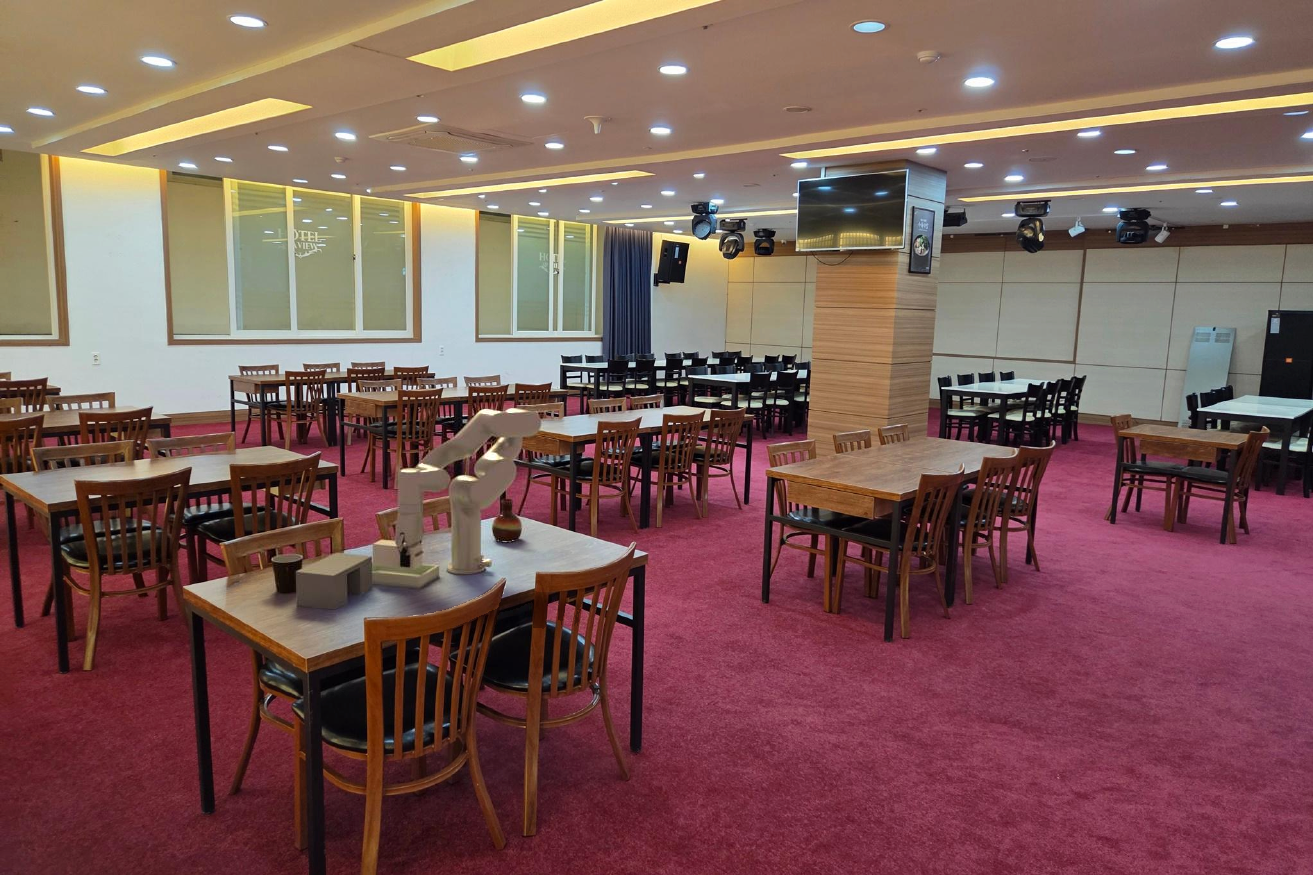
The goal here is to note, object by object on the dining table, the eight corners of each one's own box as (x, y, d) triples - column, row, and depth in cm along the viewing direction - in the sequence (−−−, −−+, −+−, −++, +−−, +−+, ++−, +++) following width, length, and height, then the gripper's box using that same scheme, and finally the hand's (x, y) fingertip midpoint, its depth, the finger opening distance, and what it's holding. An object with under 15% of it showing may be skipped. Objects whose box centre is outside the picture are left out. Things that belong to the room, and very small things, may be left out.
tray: (439, 576, 268) (439, 565, 267) (419, 588, 255) (419, 577, 255) (377, 569, 272) (377, 559, 272) (355, 581, 260) (355, 570, 259)
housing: (372, 587, 255) (371, 556, 253) (334, 609, 235) (333, 575, 234) (337, 583, 257) (336, 552, 256) (296, 605, 238) (295, 571, 236)
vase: (496, 535, 319) (497, 496, 317) (525, 536, 318) (525, 497, 316) (488, 542, 308) (488, 502, 306) (517, 544, 307) (517, 504, 305)
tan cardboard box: (424, 565, 264) (424, 544, 263) (416, 570, 259) (416, 548, 258) (381, 560, 267) (381, 539, 266) (372, 565, 261) (372, 543, 260)
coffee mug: (281, 584, 254) (280, 553, 253) (308, 586, 254) (307, 554, 253) (262, 597, 243) (260, 564, 241) (291, 598, 243) (290, 566, 241)
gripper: (413, 501, 269) (412, 555, 271) (385, 512, 252) (385, 570, 254) (434, 503, 267) (433, 558, 269) (407, 515, 250) (407, 573, 253)
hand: (410, 563), depth 262 cm, fingers closed on tan cardboard box, 5 cm apart
